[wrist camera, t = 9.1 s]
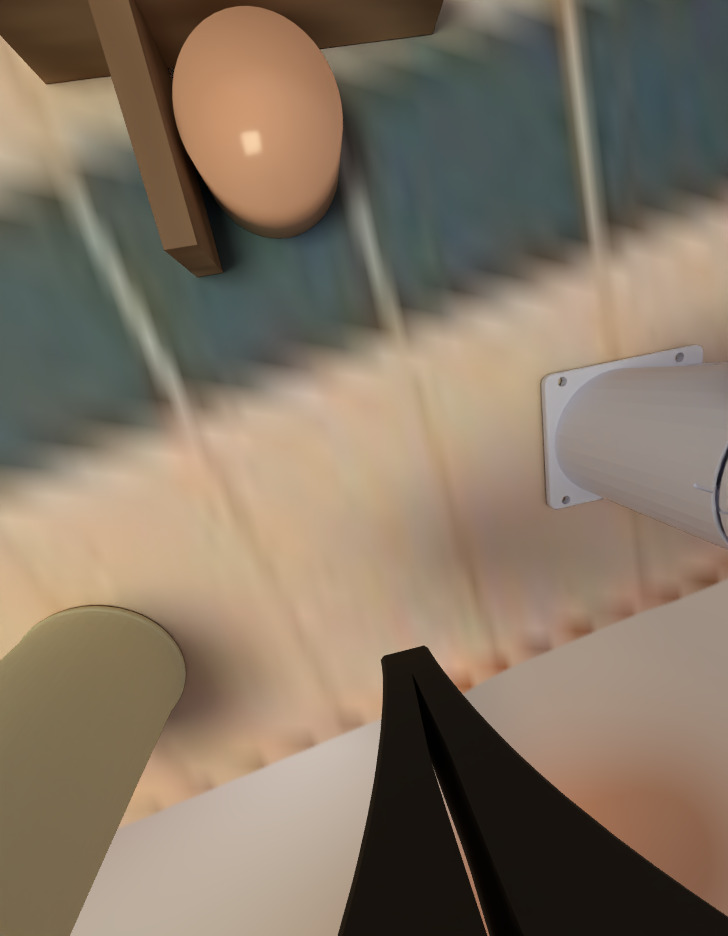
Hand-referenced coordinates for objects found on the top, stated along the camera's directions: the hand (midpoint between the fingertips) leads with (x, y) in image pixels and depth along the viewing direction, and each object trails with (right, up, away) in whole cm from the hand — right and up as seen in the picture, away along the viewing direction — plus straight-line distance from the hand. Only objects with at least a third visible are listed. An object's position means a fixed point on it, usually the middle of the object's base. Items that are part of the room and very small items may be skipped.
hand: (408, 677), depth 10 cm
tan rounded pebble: (-5, +20, +5) cm, 21 cm away
